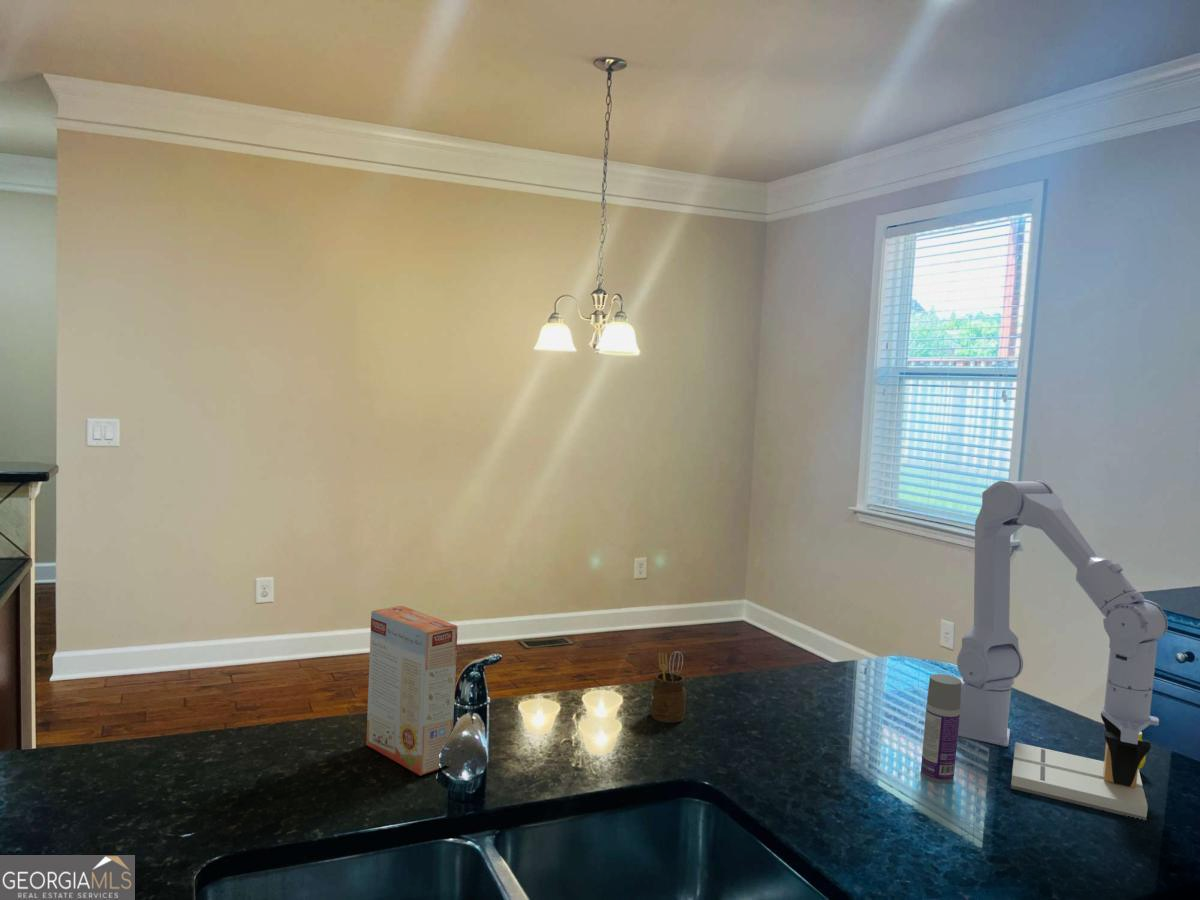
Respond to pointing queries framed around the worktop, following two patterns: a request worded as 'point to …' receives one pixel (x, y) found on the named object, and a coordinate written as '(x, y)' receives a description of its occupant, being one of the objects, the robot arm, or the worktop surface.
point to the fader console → (1074, 781)
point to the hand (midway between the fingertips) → (1120, 774)
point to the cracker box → (411, 686)
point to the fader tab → (1108, 768)
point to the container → (941, 728)
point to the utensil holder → (668, 694)
